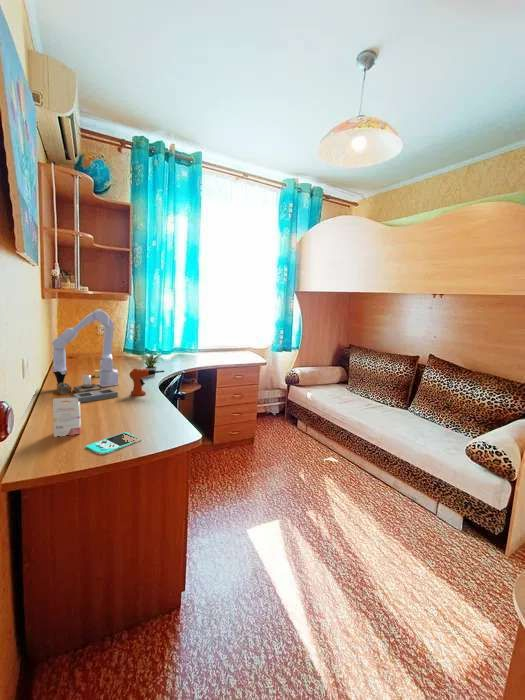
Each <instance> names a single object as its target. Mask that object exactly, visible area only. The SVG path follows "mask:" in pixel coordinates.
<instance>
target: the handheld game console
mask: <svg viewBox="0 0 525 700" xmlns="http://www.w3.org/2000/svg"><path fill="white" fill-rule="evenodd" d="M123 434H125V435H128V434H130V435H128V436H130V437H133V436H135V435H134V434H132V436H131V433H130V432H128V431H125V432H121V433H118V434H115V435H113V436H110V437H108V438H104V439H102V440H97V441H95V442H92V443H90V444H87V445H85V448H86V447H87V448H89V449H91V450H93V451H95V452H98V453H108V452H111V451H113V450H116V449H118V448H120V447H123V446H125V445H128V444H130V443H132V442H133V441H135V440H133V441H131V442H128V440H127V442H125V440H123V439H122V438H124V435H123ZM122 436H123V437H122ZM133 438H135V437H133ZM136 439H137V438H136ZM87 448H86V449H87ZM89 449H88V450H89ZM91 450H90V451H91Z"/></svg>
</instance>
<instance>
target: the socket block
mask: <svg viewBox="0 0 525 700" xmlns="http://www.w3.org/2000/svg"><path fill="white" fill-rule="evenodd" d="M91 385H92V388H88V389H83V384H82V385H75V386H73V392H75V394H77V393H84V392H91V391H97V390H102V387H101V386H99V385H98V384H95V383H91Z"/></svg>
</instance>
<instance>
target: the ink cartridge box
mask: <svg viewBox="0 0 525 700" xmlns="http://www.w3.org/2000/svg"><path fill="white" fill-rule="evenodd" d="M65 401H67V402H65ZM81 415H82V414H81V403H80V402H78V398H77V397H76V398H74V397H61V398H53V399H52V421H53V425H52V426H53V437H54V438H58V437H57V436H60V437H67V436H66V435H70V436H76V435H75V434H79V435H81V431H82V416H81Z"/></svg>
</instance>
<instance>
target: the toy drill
mask: <svg viewBox="0 0 525 700" xmlns="http://www.w3.org/2000/svg"><path fill="white" fill-rule="evenodd" d="M164 372H165V370H156V371H155V370H147V369H145V368H143V369H141V368H139V369H138V368H133V369H132V370H131V371H130V372H129V374H128V375H129V378H130V379H132V381H133V389H132V390H131V391H130V395H131V396H132V395H133V396H134V397H136V396H137V397H144V396H145V395H146V394H147V393H146V391H145V390H143V386H144V385H145V384H146V383H145V382H144V380H143V379H144V378H148V377H147V376H149V375H154V374H155V375H156V374H157V373H158V374H159V373H164ZM143 395H144V396H143ZM133 396H132V397H133Z"/></svg>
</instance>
